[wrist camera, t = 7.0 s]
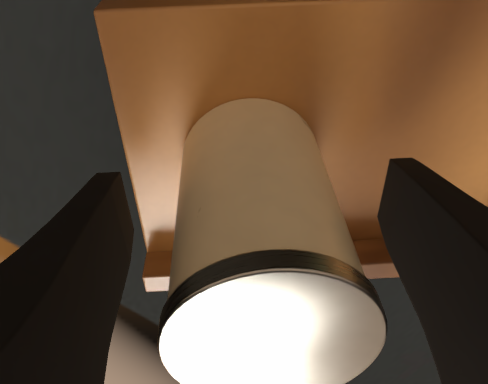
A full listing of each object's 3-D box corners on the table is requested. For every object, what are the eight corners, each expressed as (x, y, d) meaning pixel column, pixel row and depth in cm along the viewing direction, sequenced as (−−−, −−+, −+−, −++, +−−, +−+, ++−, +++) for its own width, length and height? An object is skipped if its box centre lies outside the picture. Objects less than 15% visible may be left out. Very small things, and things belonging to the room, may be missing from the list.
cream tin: (330, 193, 14) (396, 381, 9) (206, 225, 15) (203, 420, 10) (304, 74, 12) (376, 242, 7) (156, 118, 12) (115, 305, 7)
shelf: (645, -44, 14) (823, -5, 10) (537, 179, 20) (623, 264, 15) (120, -26, 14) (79, 24, 9) (160, 199, 19) (145, 292, 15)
